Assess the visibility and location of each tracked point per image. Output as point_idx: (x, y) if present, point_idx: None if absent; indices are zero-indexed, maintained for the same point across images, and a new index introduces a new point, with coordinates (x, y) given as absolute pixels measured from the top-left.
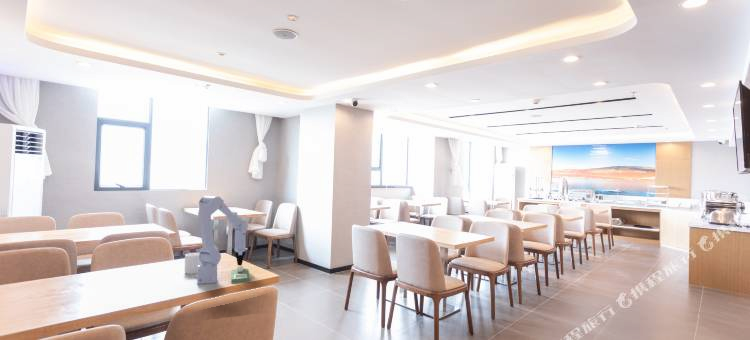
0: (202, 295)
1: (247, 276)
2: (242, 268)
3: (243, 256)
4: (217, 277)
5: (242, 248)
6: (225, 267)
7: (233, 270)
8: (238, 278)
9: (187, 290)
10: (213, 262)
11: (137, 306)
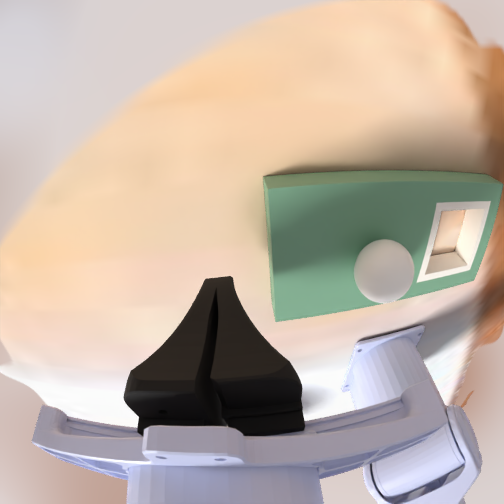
0: (493, 321)
1: (483, 197)
2: (410, 256)
3: (271, 348)
4: (358, 346)
5: (314, 488)
6: (110, 339)
7: (298, 306)
8: (483, 248)
9: (433, 370)
10: (465, 414)
11: (455, 391)
